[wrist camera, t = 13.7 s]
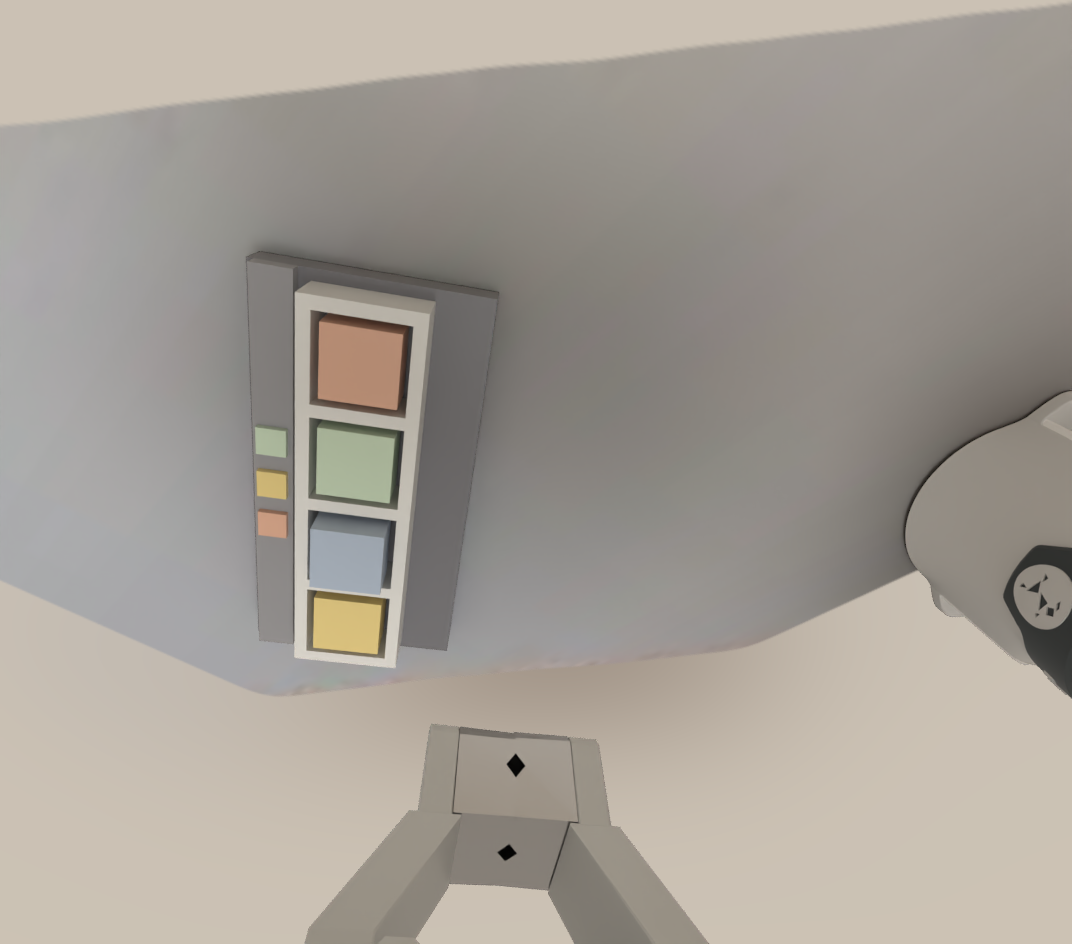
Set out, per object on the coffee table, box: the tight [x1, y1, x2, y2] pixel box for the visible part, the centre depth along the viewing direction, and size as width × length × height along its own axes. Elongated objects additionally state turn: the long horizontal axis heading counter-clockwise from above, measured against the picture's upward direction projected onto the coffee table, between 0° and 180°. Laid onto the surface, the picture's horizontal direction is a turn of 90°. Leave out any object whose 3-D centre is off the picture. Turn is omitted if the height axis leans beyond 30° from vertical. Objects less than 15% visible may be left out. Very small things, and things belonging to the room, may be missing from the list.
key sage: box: [316, 419, 401, 503], centre depth 39 cm, size 4×4×2 cm
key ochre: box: [313, 591, 386, 654], centre depth 44 cm, size 4×4×2 cm
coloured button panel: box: [246, 251, 499, 668], centre depth 41 cm, size 14×27×5 cm, turn 170°
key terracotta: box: [318, 313, 409, 410], centre depth 36 cm, size 4×4×2 cm
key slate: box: [309, 511, 391, 595], centre depth 40 cm, size 4×4×2 cm
